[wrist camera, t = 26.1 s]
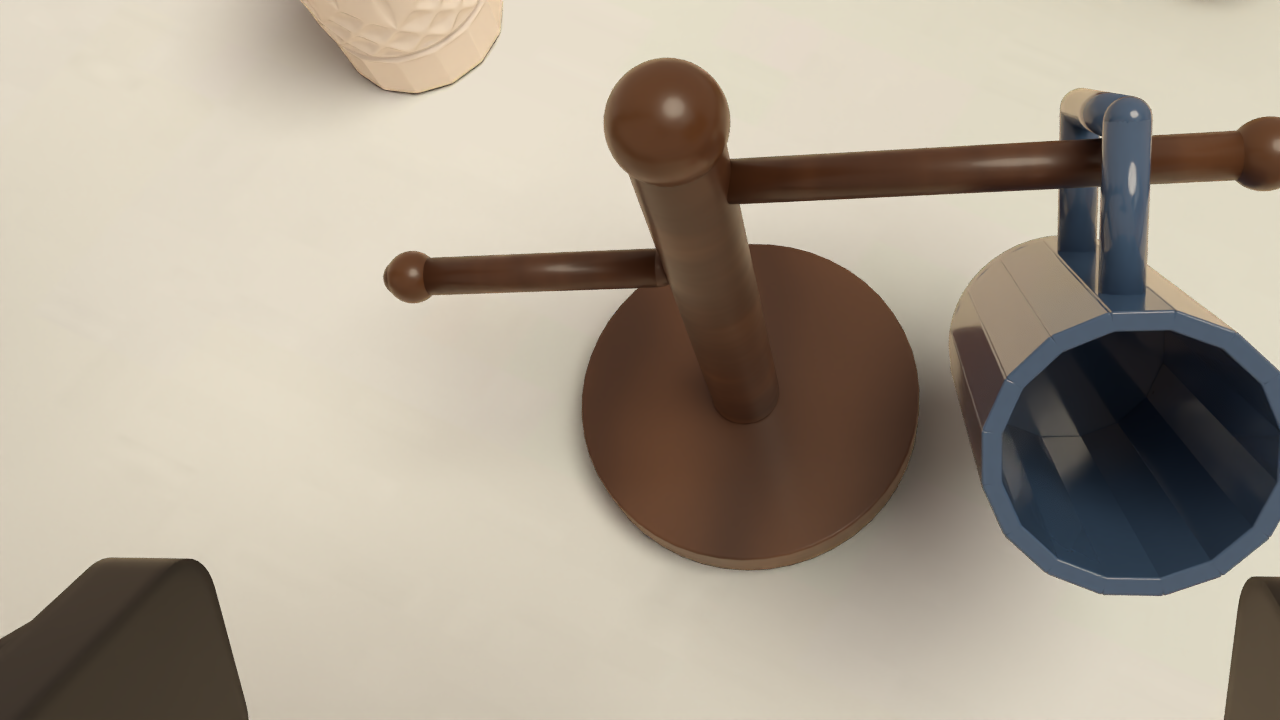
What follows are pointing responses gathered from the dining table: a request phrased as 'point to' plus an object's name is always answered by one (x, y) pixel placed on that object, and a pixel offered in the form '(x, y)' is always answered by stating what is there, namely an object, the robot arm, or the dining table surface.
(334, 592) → the dining table surface
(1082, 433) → the mug
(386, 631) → the dining table surface
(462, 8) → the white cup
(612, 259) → the mug tree
